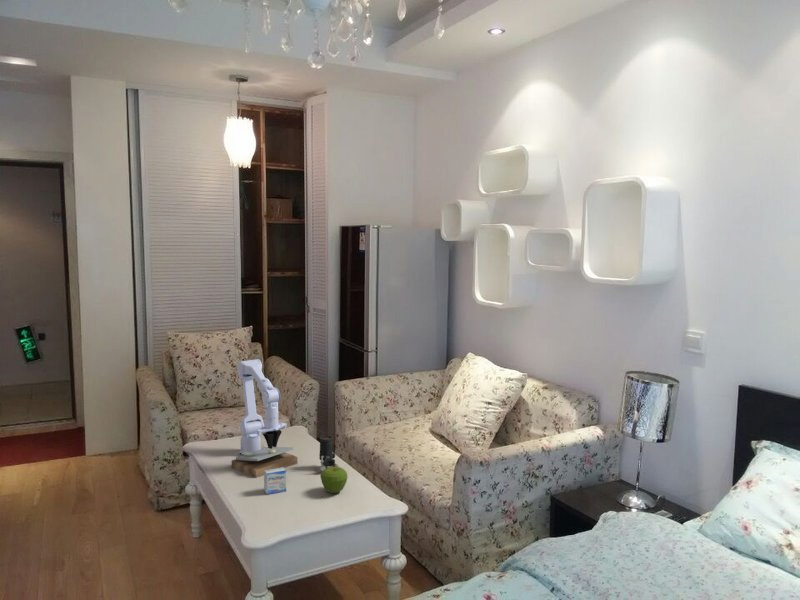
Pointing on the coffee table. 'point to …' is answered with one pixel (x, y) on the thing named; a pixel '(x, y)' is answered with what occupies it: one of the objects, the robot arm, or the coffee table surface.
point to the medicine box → (274, 480)
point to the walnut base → (264, 464)
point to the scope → (326, 453)
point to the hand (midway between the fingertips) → (272, 447)
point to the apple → (334, 479)
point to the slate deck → (263, 453)
